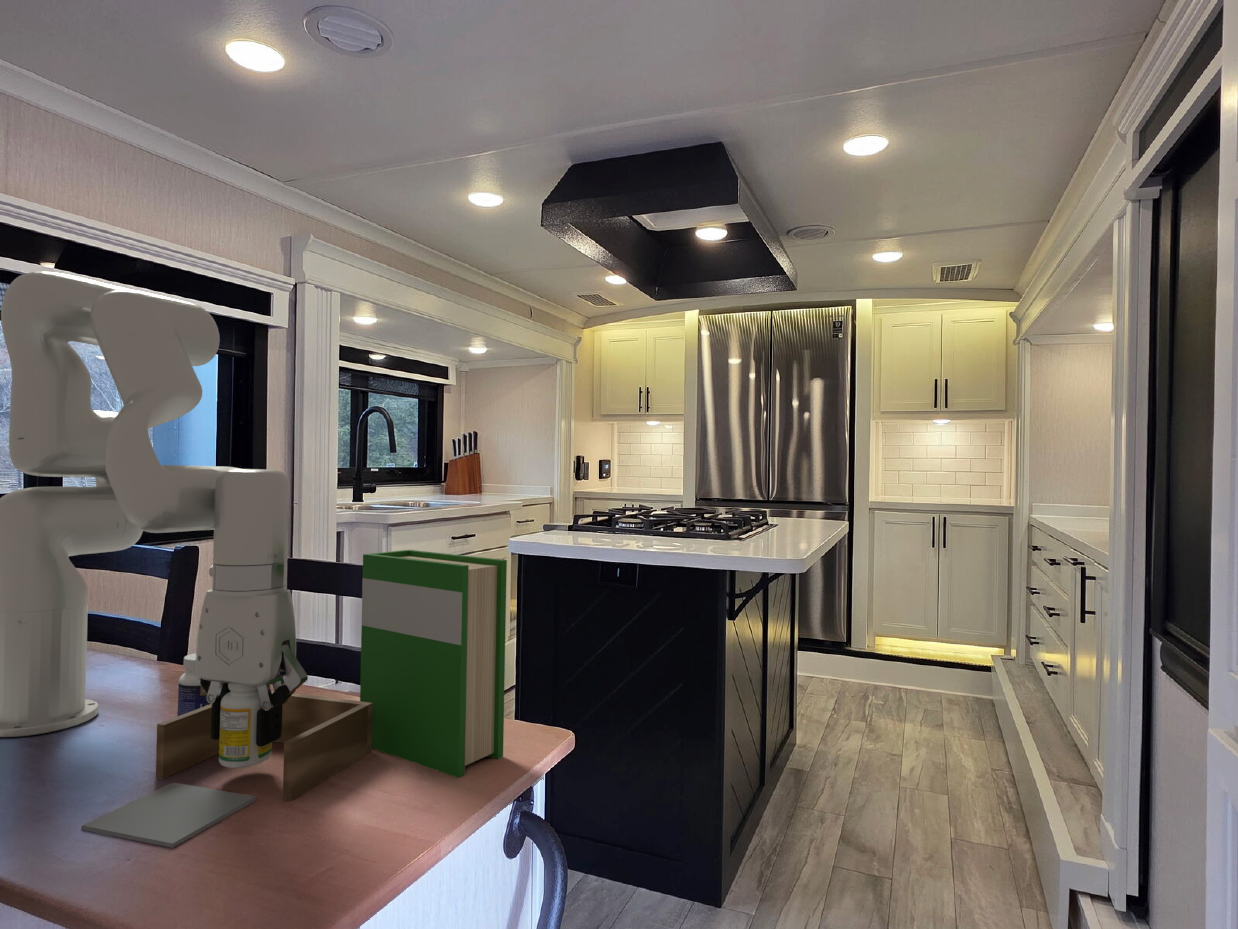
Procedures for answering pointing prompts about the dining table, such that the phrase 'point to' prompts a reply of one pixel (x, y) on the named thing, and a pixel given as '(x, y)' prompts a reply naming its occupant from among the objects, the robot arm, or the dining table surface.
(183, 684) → the pill bottle
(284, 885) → the dining table surface
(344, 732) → the wooden u-shaped frame
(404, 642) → the hardback book
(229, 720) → the supplement bottle
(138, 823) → the grey mat
